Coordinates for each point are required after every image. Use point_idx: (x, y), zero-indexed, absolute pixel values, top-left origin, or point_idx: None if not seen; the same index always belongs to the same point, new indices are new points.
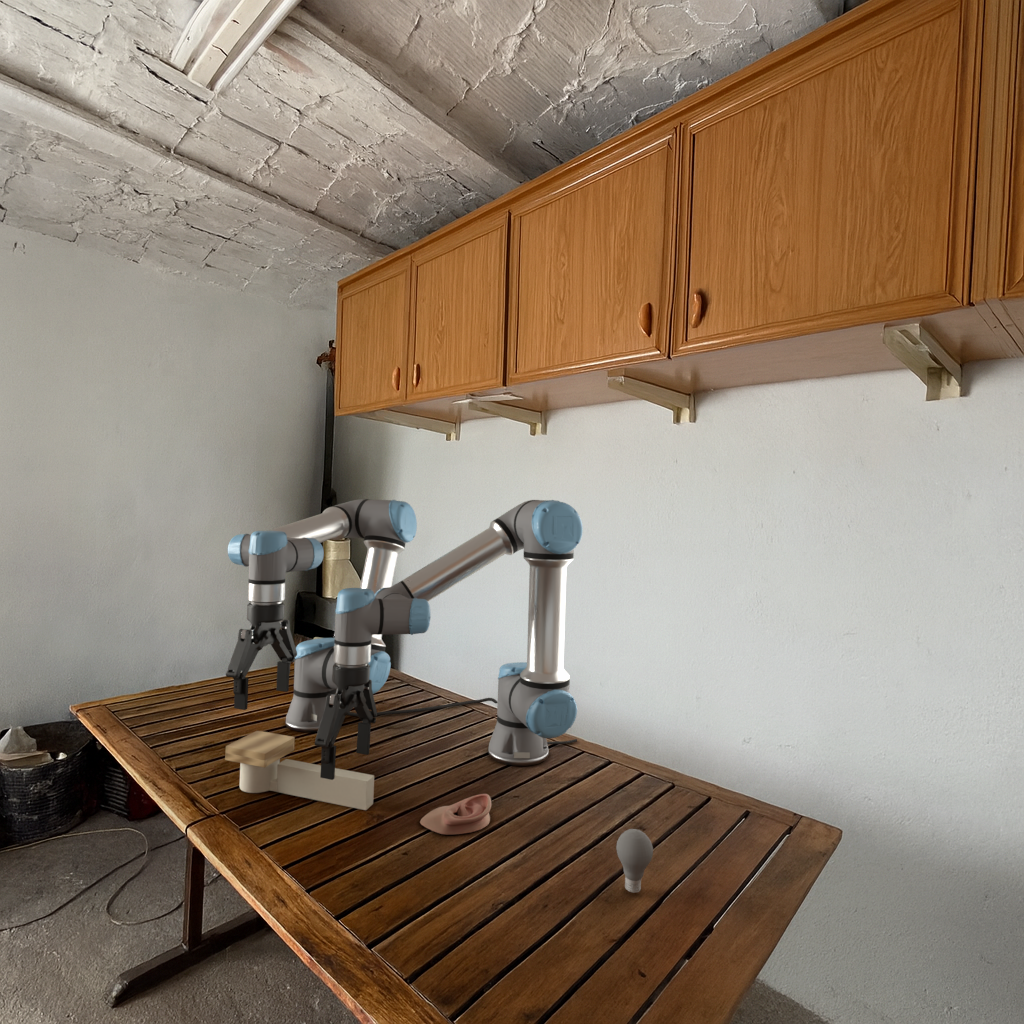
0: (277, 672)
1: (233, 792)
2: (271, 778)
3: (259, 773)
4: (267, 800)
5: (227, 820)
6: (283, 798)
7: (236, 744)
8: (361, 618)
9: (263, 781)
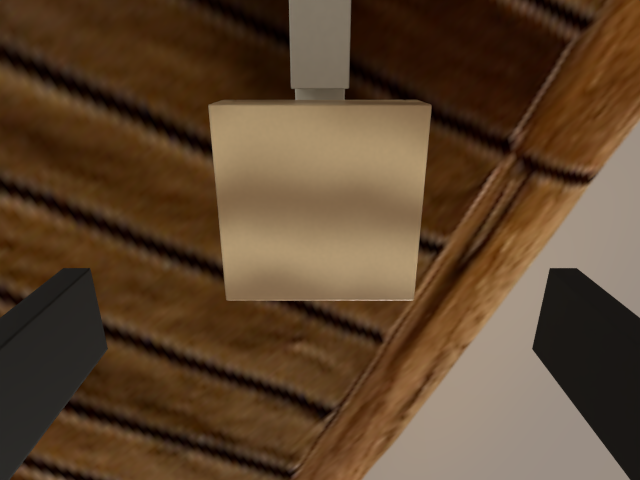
0: (19, 460)
1: None
2: None
3: None
4: (401, 73)
5: (544, 101)
6: (373, 30)
7: (385, 276)
8: None
9: None
